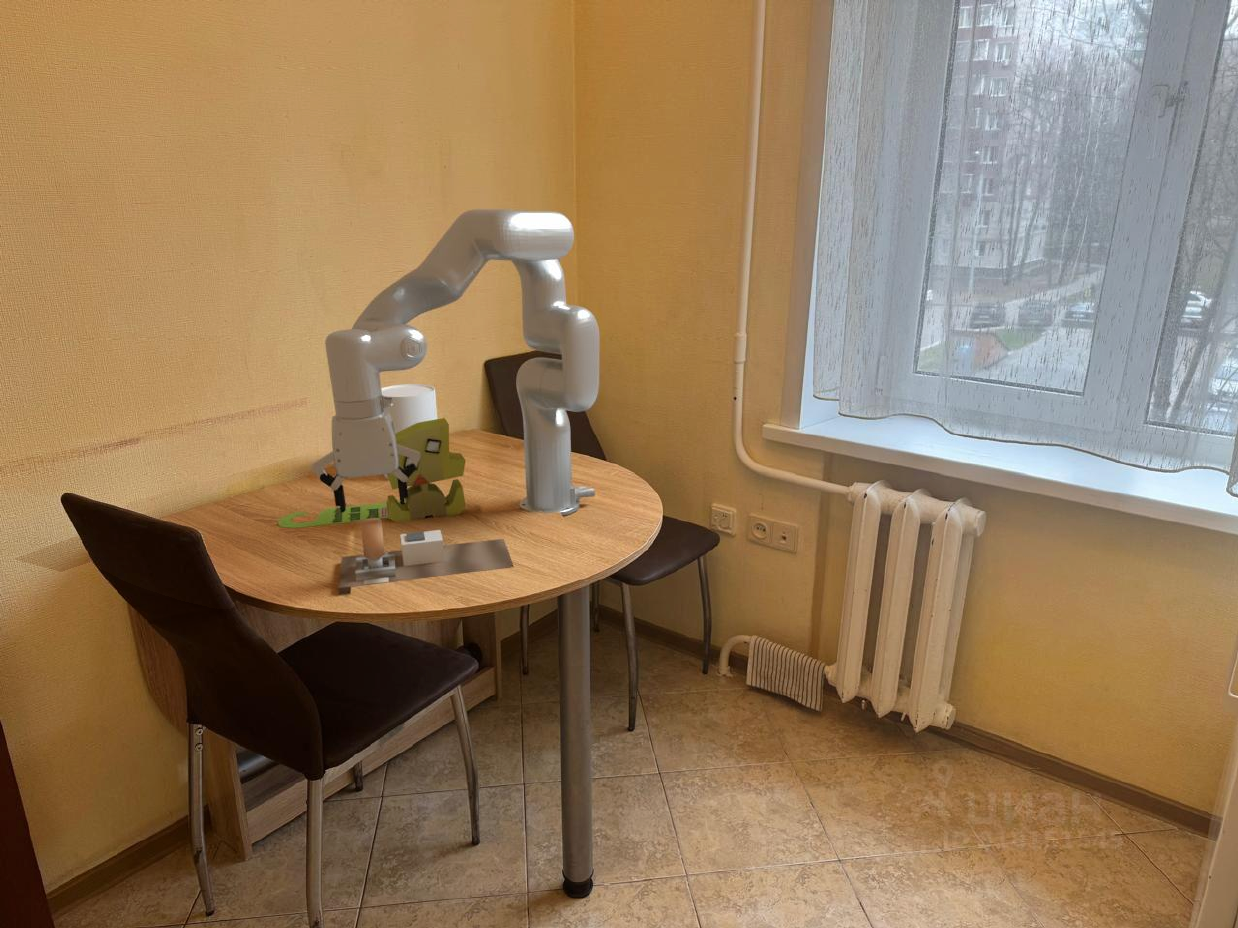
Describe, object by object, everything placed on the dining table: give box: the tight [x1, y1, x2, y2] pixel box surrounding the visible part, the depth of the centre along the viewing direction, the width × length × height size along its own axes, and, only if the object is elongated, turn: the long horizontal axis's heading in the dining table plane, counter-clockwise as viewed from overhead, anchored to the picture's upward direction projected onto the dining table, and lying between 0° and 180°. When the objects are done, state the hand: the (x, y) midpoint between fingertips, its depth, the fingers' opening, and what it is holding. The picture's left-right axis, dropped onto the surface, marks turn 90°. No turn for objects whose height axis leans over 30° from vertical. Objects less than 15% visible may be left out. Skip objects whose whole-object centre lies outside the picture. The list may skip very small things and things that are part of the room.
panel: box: [338, 538, 515, 595], centre depth 146 cm, size 29×13×3 cm, turn 105°
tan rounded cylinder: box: [360, 518, 385, 569], centre depth 141 cm, size 3×3×9 cm
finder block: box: [400, 529, 445, 566], centre depth 147 cm, size 7×5×4 cm
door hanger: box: [277, 500, 400, 529], centre depth 171 cm, size 9×1×25 cm
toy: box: [386, 417, 467, 523], centre depth 166 cm, size 16×6×20 cm, turn 110°
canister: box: [381, 383, 439, 480], centre depth 195 cm, size 14×14×20 cm
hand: (373, 505), depth 139 cm, fingers open, 9 cm apart
